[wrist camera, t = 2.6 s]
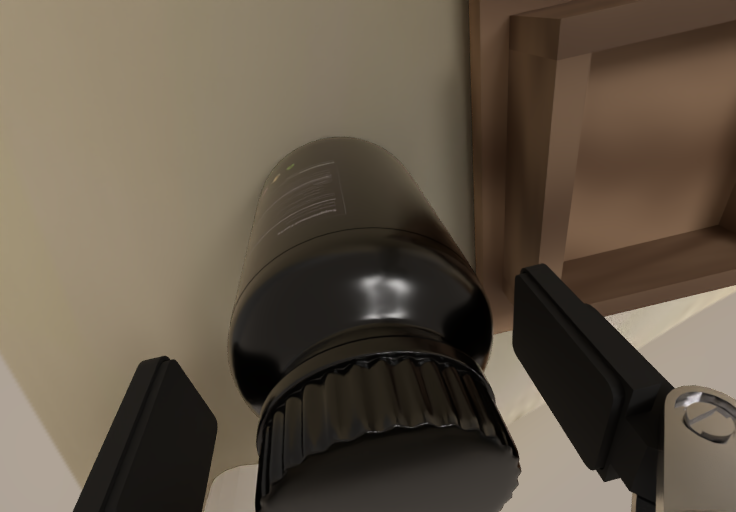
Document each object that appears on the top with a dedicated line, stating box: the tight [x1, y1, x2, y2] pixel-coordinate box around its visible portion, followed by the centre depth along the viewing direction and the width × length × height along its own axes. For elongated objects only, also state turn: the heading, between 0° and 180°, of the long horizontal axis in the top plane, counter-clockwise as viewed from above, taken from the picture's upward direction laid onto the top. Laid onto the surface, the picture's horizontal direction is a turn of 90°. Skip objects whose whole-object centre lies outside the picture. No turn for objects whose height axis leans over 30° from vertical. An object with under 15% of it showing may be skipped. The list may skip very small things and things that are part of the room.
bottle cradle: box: [469, 0, 736, 335], centre depth 15 cm, size 18×14×4 cm
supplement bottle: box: [227, 137, 521, 512], centre depth 12 cm, size 7×7×12 cm
